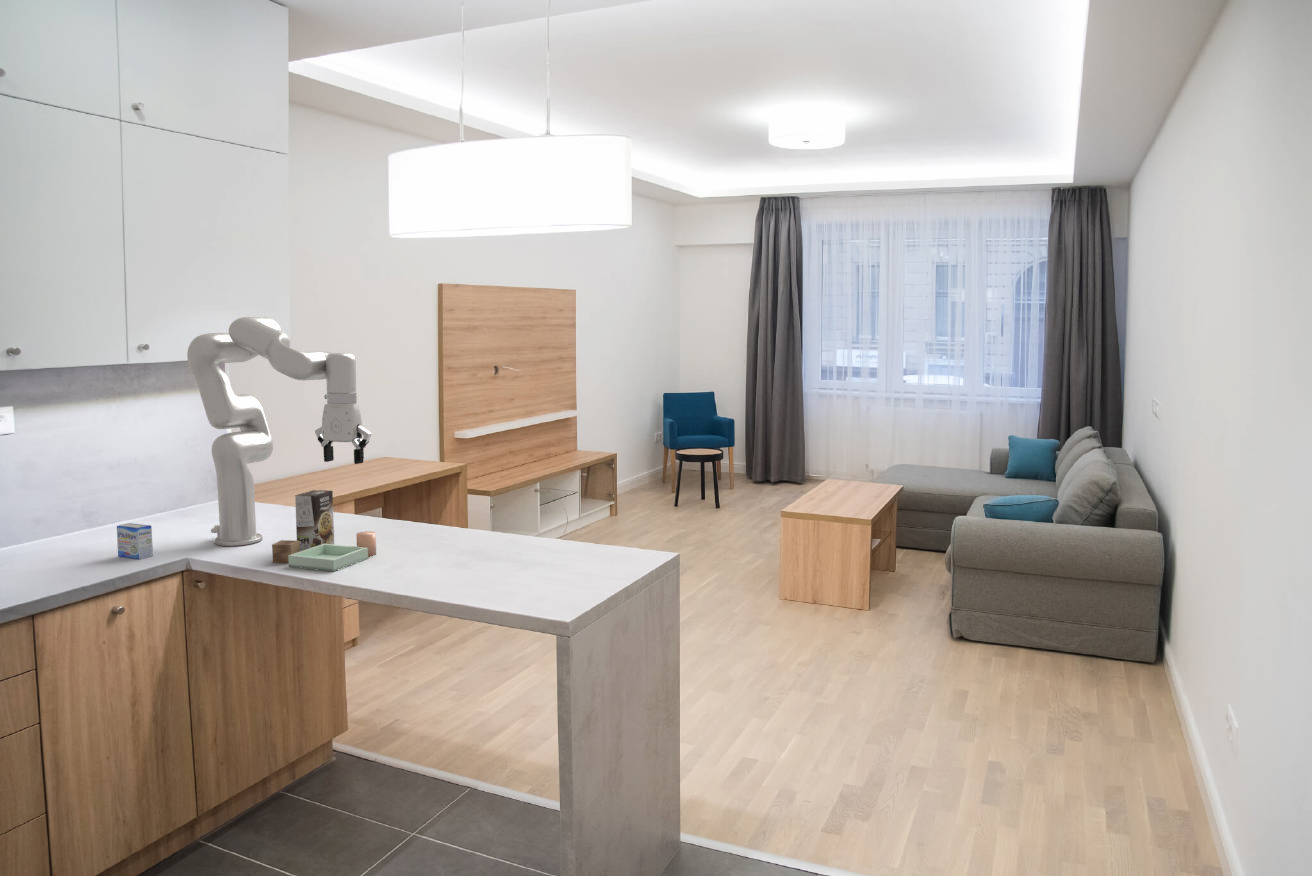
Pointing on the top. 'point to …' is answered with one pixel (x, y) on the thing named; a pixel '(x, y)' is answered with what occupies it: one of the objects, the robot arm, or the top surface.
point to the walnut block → (284, 550)
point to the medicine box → (134, 541)
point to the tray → (328, 557)
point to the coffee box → (314, 518)
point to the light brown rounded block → (367, 541)
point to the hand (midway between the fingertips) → (343, 462)
